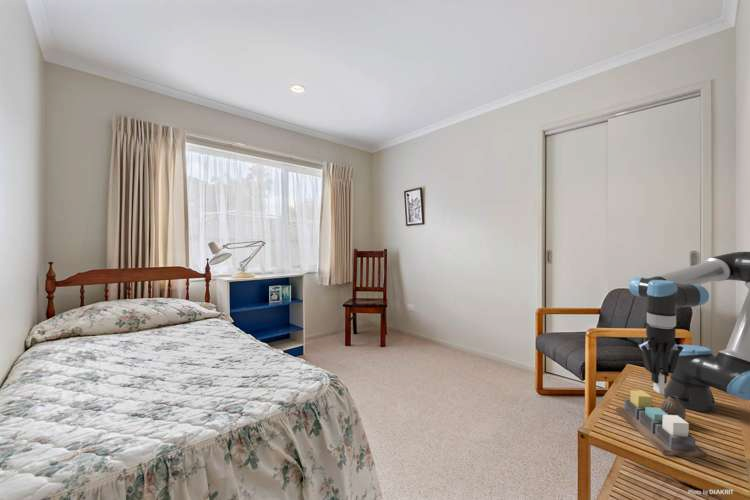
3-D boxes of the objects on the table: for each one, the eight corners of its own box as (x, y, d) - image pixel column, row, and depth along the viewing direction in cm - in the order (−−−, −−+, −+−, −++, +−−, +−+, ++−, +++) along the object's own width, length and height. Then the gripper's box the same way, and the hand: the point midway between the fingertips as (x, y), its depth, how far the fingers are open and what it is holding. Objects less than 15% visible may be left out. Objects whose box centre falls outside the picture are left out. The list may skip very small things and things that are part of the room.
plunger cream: (676, 429, 106) (677, 415, 105) (688, 438, 101) (688, 423, 101) (662, 428, 106) (662, 414, 106) (672, 437, 102) (673, 422, 101)
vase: (687, 428, 114) (689, 404, 113) (662, 422, 117) (663, 399, 117) (682, 418, 120) (683, 395, 119) (658, 412, 123) (659, 390, 123)
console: (649, 412, 123) (650, 399, 123) (705, 457, 99) (706, 440, 99) (616, 411, 125) (616, 397, 124) (663, 454, 101) (663, 438, 100)
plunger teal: (658, 421, 114) (658, 407, 113) (667, 428, 109) (668, 414, 109) (644, 420, 114) (645, 407, 114) (653, 428, 110) (654, 414, 110)
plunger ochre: (642, 403, 121) (643, 390, 121) (651, 409, 117) (651, 396, 117) (630, 402, 122) (630, 390, 122) (638, 409, 118) (638, 396, 117)
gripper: (673, 322, 112) (670, 386, 114) (632, 322, 114) (631, 385, 116) (691, 329, 105) (688, 398, 106) (647, 328, 106) (645, 396, 108)
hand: (658, 391), depth 111 cm, fingers closed
